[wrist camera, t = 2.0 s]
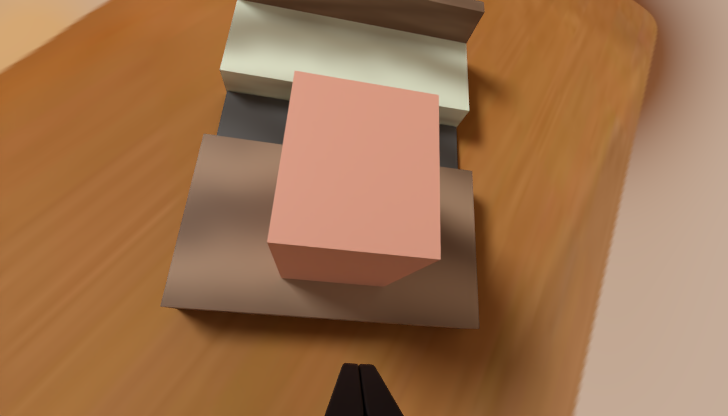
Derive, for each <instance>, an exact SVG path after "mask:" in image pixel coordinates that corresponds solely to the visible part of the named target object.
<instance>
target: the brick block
mask: <svg viewBox="0 0 728 416" xmlns="http://www.w3.org/2000/svg"><path fill="white" fill-rule="evenodd" d="M267 244H268V246H269V249H270V251H271V254H272V256H273V259H274V261H275V264H276V266H277V269H278V271H279V273H280V276H281V278H286V279H298V280H309V281H321V282H333V283H344V284H356V285H368V286H379V287H384V286H387V285H389V284H391V283H393V282H395V281H397V280H399V279H401V278H403V277H405V276H407V275H410V274H412V273H414V272H416V271H418V270H420V269H422V268H424V267H426V266H428V265H430V264H433V263H435V262H437V261H439V260H441V241H440V157H439V95H436V94H430V93H424V92H418V91H412V90H406V89H401V88H395V87H389V86H383V85H377V84H371V83H365V82H359V81H353V80H348V79H342V78H336V77H330V76H324V75H318V74H312V73H306V72H300V71H294V78H293V84H292V90H291V96H290V102H289V109H288V115H287V121H286V127H285V133H284V140H283V146H282V152H281V158H280V164H279V171H278V177H277V183H276V189H275V196H274V202H273V208H272V214H271V220H270V227H269V233H268V239H267Z"/></svg>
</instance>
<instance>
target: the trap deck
mask: <svg viewBox="0 0 728 416" xmlns="http://www.w3.org/2000/svg"><path fill="white" fill-rule="evenodd" d="M483 14H484V2H481V1H476V0H237V3H236V7H235V11H234V15H233V19H232V23H231V27H230V31H229V35H228V39H227V43H226V47H225V51H224V55H223V59H222V63H221V67H220V72H221V75H222V78H223V81H224V85H225V88H226V91H227V94H226V98H225V103H224V107H223V111H222V115H221V119H220V124H219V128H218V132H217V136H216V135H209V134H204V135H203V139H202V143H201V147H200V151H199V155H198V159H197V163H196V167H195V171H194V175H193V179H192V183H191V187H190V190H189V194H188V198H187V202H186V206H185V210H184V214H183V218H182V222H181V226H180V230H179V234H178V238H177V242H176V246H175V250H174V254H173V258H172V262H171V266H170V270H169V274H168V278H167V282H166V286H165V290H164V294H163V298H162V302H161V306H162V307H169V308H176V309H189V310H203V311H217V312H232V313H246V314H260V315H274V316H288V317H303V318H317V319H331V320H345V321H359V322H374V323H388V324H402V325H416V326H430V327H445V328H459V329H479V308H478V287H477V265H476V244H475V222H474V201H473V180H472V171H468V170H461V169H458V164H457V132H456V127H457V126H458V125H459V123H460V122H461V121H462V120H463V118H464V117H465V116H466V114H467V113H468V112H469V94H468V72H467V51H466V43H467V41H468V39H469V38H470V36H471V34H472V33H473V31H474V29H475V27H476V26H477V24H478V22H479V21H480V19H481V17H482V15H483ZM294 71H300V72H306V73H312V74H318V75H324V76H330V77H336V78H342V79H348V80H353V81H359V82H365V83H371V84H377V85H383V86H389V87H395V88H401V89H406V90H412V91H418V92H424V93H430V94H436V95H439V157H440V241H441V260H439V261H437V262H435V263H433V264H430V265H428V266H426V267H424V268H422V269H420V270H418V271H416V272H414V273H412V274H410V275H407V276H405V277H403V278H401V279H399V280H397V281H395V282H393V283H391V284H389V285H387V286H384V287H379V286H368V285H356V284H344V283H333V282H321V281H309V280H298V279H286V278H281V276H280V273H279V271H278V269H277V266H276V264H275V261H274V259H273V256H272V254H271V251H270V249H269V246H268V244H267V239H268V233H269V227H270V220H271V214H272V208H273V202H274V196H275V189H276V183H277V177H278V171H279V164H280V158H281V152H282V146H283V140H284V133H285V127H286V121H287V115H288V109H289V102H290V96H291V90H292V84H293V78H294Z"/></svg>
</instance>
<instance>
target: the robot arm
mask: <svg viewBox="0 0 728 416" xmlns="http://www.w3.org/2000/svg"><path fill="white" fill-rule="evenodd" d="M325 416H404V415H403V414H402V412H401V410H400V409H399V407H398V405H397V403H396V402H395V400H394V398H393V397H392V395H391V393H390V391H389V390H388V388H387V386H386V385H385V383H384V381H383V380H382V378H381V376H380V374H379V373H378V371H377V369H376V368H375V366H374V365H370V364H360V365H359V366H358V365H357V364H352V363H344V364H343V365H342V368H341V371H340V373H339V376H338V379H337V382H336V385H335V388H334V390H333V393H332V396H331V399H330V402H329V405H328V407H327V410H326V413H325Z"/></svg>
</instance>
